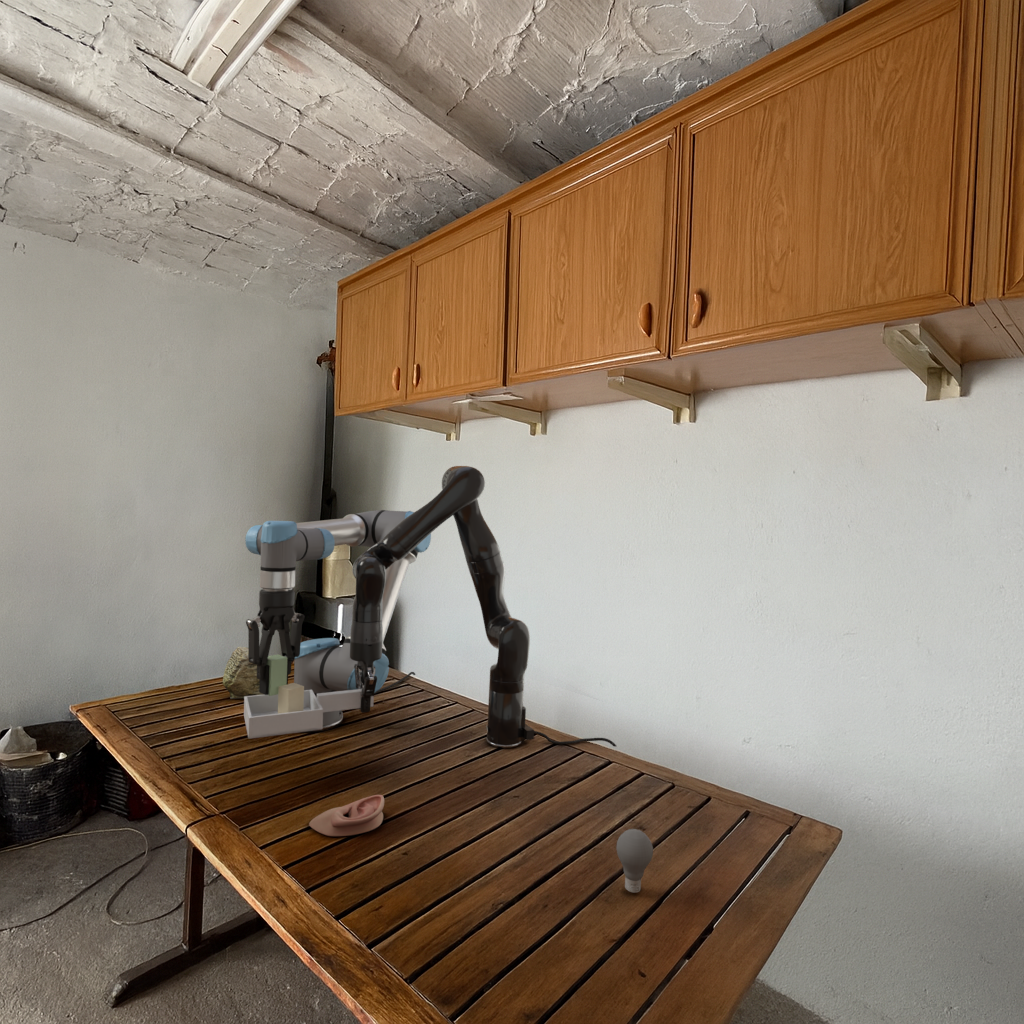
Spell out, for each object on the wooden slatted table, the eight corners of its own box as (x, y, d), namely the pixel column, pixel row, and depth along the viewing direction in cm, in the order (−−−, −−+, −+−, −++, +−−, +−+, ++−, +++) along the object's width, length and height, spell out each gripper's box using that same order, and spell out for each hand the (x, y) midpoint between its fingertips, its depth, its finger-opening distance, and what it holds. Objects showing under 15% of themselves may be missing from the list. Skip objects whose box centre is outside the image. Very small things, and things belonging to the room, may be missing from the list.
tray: (248, 738, 134) (249, 713, 134) (243, 715, 147) (244, 692, 147) (380, 721, 146) (381, 698, 146) (364, 701, 160) (365, 680, 160)
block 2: (293, 716, 146) (293, 682, 146) (303, 721, 144) (304, 686, 143) (277, 721, 143) (278, 686, 143) (287, 725, 140) (288, 690, 140)
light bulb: (610, 879, 108) (613, 822, 108) (644, 879, 109) (647, 822, 109) (619, 902, 102) (622, 840, 102) (655, 901, 103) (658, 840, 103)
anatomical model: (301, 810, 119) (330, 784, 130) (300, 831, 119) (330, 803, 131) (367, 821, 117) (391, 793, 128) (366, 842, 117) (390, 813, 128)
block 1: (276, 688, 147) (278, 654, 147) (286, 692, 144) (287, 657, 144) (260, 692, 144) (261, 657, 144) (270, 696, 141) (271, 660, 141)
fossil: (218, 695, 195) (220, 647, 195) (278, 685, 208) (279, 640, 207) (228, 703, 189) (230, 653, 188) (289, 692, 201) (290, 645, 201)
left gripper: (301, 584, 153) (297, 680, 153) (232, 589, 139) (228, 695, 140) (319, 587, 148) (315, 687, 148) (250, 594, 135) (246, 703, 135)
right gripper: (344, 633, 156) (342, 703, 157) (357, 646, 144) (354, 721, 144) (374, 631, 160) (372, 700, 160) (389, 644, 147) (386, 718, 148)
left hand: (273, 690), depth 144 cm, fingers closed on block 1, 4 cm apart
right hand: (364, 710), depth 152 cm, fingers closed on tray
